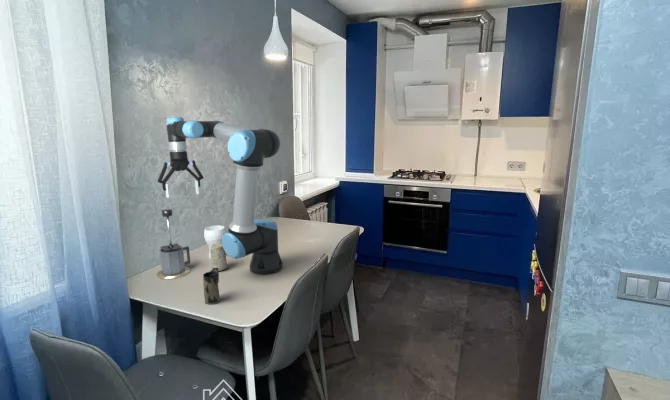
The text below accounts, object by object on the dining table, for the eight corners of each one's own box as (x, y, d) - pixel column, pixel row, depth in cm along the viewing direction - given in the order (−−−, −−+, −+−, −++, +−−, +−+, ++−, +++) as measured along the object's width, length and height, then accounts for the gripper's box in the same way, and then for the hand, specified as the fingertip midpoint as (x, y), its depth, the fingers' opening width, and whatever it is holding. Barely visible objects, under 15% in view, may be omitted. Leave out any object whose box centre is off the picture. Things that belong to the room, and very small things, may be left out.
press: (195, 273, 165) (192, 247, 162) (160, 282, 156) (157, 254, 154) (186, 264, 176) (184, 240, 173) (153, 271, 168) (150, 246, 165)
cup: (221, 260, 180) (219, 231, 177) (201, 259, 182) (199, 230, 179) (231, 253, 191) (229, 225, 187) (212, 252, 193) (210, 224, 190)
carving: (218, 265, 174) (216, 241, 171) (230, 268, 170) (228, 244, 168) (208, 270, 168) (206, 245, 166) (220, 273, 165) (218, 248, 163)
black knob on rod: (180, 252, 163) (176, 210, 159) (165, 255, 160) (160, 212, 156) (177, 248, 168) (172, 207, 164) (162, 251, 165) (157, 209, 161)
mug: (215, 305, 136) (212, 275, 134) (201, 304, 137) (199, 274, 135) (225, 295, 144) (223, 267, 141) (212, 294, 145) (210, 266, 142)
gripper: (203, 149, 180) (207, 191, 185) (147, 152, 167) (153, 197, 171) (207, 149, 174) (211, 193, 179) (149, 152, 161) (155, 200, 165)
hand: (182, 195), depth 175 cm, fingers open, 13 cm apart
